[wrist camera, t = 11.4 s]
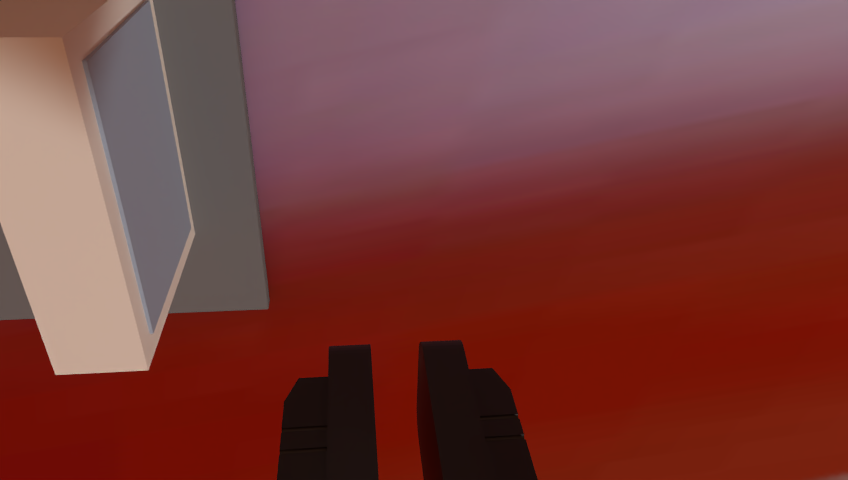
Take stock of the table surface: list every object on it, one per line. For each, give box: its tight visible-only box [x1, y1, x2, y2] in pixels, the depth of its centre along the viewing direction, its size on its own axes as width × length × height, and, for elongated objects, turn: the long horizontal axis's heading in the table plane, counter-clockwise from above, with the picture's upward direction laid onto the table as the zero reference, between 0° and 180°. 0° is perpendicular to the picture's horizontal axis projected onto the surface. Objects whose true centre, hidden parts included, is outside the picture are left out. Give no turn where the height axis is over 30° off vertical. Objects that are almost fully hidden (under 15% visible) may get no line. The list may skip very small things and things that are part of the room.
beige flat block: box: [0, 0, 195, 375], centre depth 18 cm, size 9×2×7 cm, turn 178°
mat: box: [0, 0, 270, 320], centre depth 21 cm, size 16×14×1 cm
